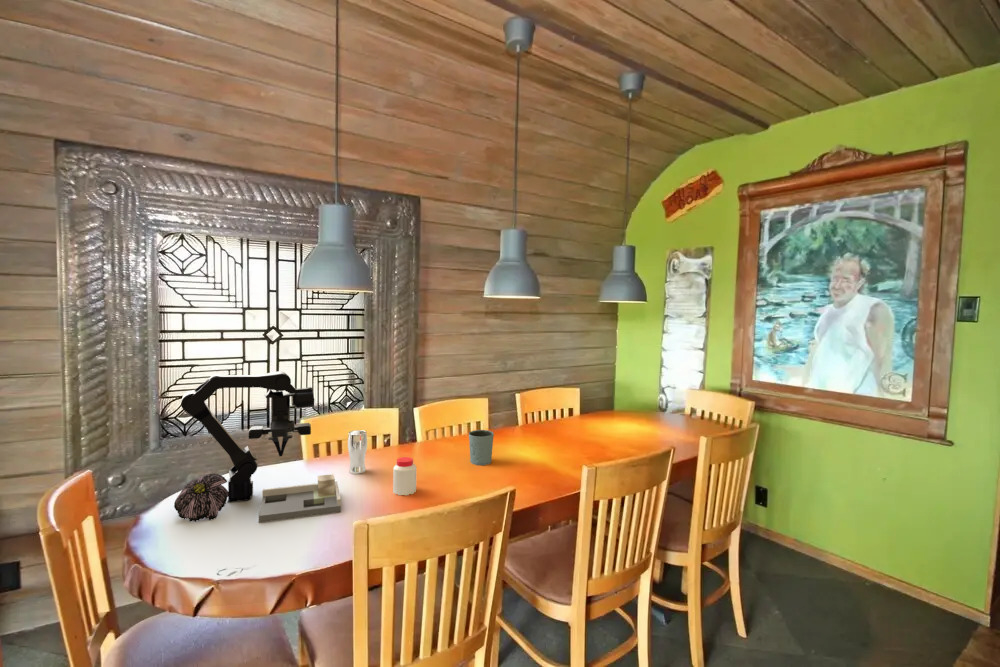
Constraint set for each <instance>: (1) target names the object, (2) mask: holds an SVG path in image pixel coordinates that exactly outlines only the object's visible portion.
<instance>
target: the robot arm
mask: <svg viewBox="0 0 1000 667" xmlns="http://www.w3.org/2000/svg"><path fill="white" fill-rule="evenodd" d="M291 380H292V379H291V378H290V376H289V375H288V373H286V372H285V371H281V370H280V371H279V370H278V371H273V372H267V373H264V374H234V375H233V374H231V375H230V374H224V375H223V374H217V373H216V374H212V375H211V376H210V377H209V378H208V379H207V380H206V381H204V382H203V383H201V384H200V385H198V386H197V387H196V388H195V389H193V390H189V391H186V392H185V393H184V394H183V395H182V398H181V401H180V406H181V409H182V410H183V411H184V412H186V413H187V414H188V415H190V417H192V418H194V419H195V420H197V421H198V422H200V423H201V424H202V425H203V427H204V428H205V429H206V430H207V431H208V433H210V435H211V436H212V437H213V438H214V439H215V440H216V442H217V443H218V444H219V446H220V447H222V449H223V450H224V451H225V452H226V453H227V455H228V456H229V457H230V460H231V462H232V464H233V466H232V467H231V468H230V469H229V470H228V474H229V478H228V480H227V483H228V484H227V485H228V488H227V491H228V492H229V496H228V497H227V500H226V503H232V502H233V503H234V502H242V501H250V500H251V499H252V496H253V495H254V481H253V480H252V475H254V474H255V473H256V472H257V469H258V463H257V461H258V458H257V456H256V454H255V453H254V452H252V450H251V448H250V447H249V445H247V446H245V447H242V446H240V444H239V443H238V442H237V441H236V440H235V439H234V438H233V437H232V435H231V434H230V433H229V432H228V431H227V429H226V428H225V427H224V425H222V423H221V422H220V420H218V419H217V417H216V416H215V415H214V414H213V412H212V410H211V409H210V407H209V405H208V403H207V400H208V399H209V398H210V397H211V396H212V395H213V394H215V392H216V391H217V390H219V389H234V388H235V389H236V388H237V389H239V388H243V389H245V388H262V389H265V390H266V389H267V390H268V391H267V392H266V393H265V394H264V397H265V399H270V405H271V406H270V409H271V410H270V411H271V412H270V413H271V414H270V416H271V417H270V428H264V425H256V426H251V427H250V428H249V430H248V439H249V440H254V439H260V438H261V437H262V436H263V435H267V436H268V438H267V439H268V440H269V441H272V443H273V444H274V446H275V449H276V452H277V454H278V456H279V457H283V455H284V452H285V448H286V446H287V444H288V441H289V440H290V439H293V435H294V433H298V434H299V435H300V436H309V435H312V427H311V426H312V425H311V423H310V422H301V423H298V424H297V425H298V426H295V420H291V406H292V407H294V408H295V410H297V409H308V408H309V409H310V408H314V406H315V397H314V389H313V387H312V386H309V387H302V388H296V387H295V386H294V385H293V384H291V383H292V381H291ZM284 391H285V393H284ZM280 438H282V442H281V441H280Z"/></svg>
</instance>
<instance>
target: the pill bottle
mask: <svg viewBox="0 0 1000 667" xmlns="http://www.w3.org/2000/svg"><path fill="white" fill-rule="evenodd" d="M392 471H393V472H392V474H393V475H392V493H393V494H394V493H395V494H394V495H396V494H398V495H397V496H401V495H405V496H410V495H409V494H411V495H413V494H415V493H416V491H417V465H416V464H415V463H414V459H413V458H412V457H410V456H401V457H398V458H397V459H396V464H395V465H394V466H393V468H392ZM414 492H415V493H414Z"/></svg>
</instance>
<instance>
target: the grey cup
mask: <svg viewBox="0 0 1000 667" xmlns="http://www.w3.org/2000/svg"><path fill="white" fill-rule="evenodd" d="M494 435H495V433H494V432H493V431H492V430H487V429H477V430H476V429H475V430H471V431H469V432H468V441H469V459H470V460H469V461H470V463H471V464H472V465H474V464H475V465H474V466H487V464H488V465H490V464H491V463H492V459H493V458H492V457H493V456H492V455H493V445H494V444H493V443H494V437H495V436H494Z"/></svg>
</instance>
